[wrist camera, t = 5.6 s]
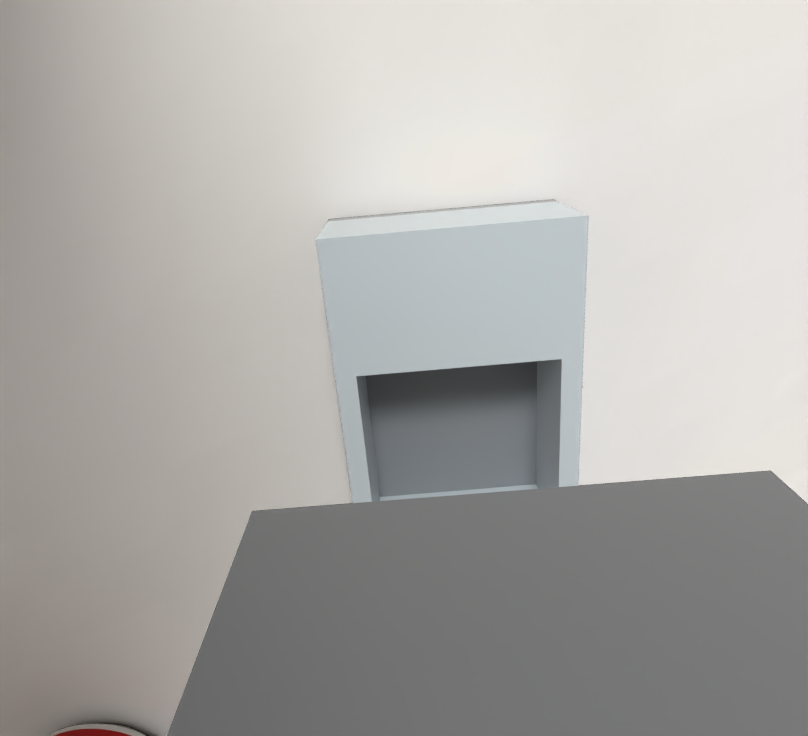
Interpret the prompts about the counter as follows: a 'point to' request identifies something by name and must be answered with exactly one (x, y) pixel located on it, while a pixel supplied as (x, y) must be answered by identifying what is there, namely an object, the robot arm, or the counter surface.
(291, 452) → the counter surface
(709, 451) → the counter surface
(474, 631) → the plug
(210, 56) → the counter surface
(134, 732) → the soda can
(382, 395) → the socket strip
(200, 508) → the counter surface
